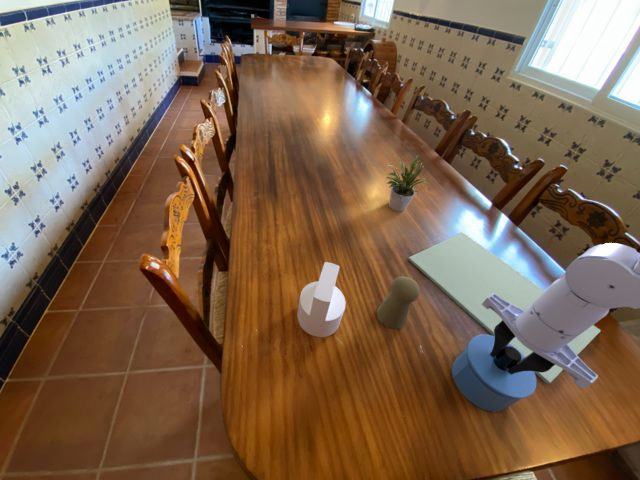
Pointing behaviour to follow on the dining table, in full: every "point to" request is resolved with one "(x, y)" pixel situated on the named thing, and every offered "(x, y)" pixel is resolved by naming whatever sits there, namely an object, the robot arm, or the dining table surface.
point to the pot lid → (500, 368)
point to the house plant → (403, 185)
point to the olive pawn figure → (398, 302)
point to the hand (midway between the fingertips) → (503, 361)
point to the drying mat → (485, 286)
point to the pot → (477, 386)
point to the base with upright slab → (322, 304)
